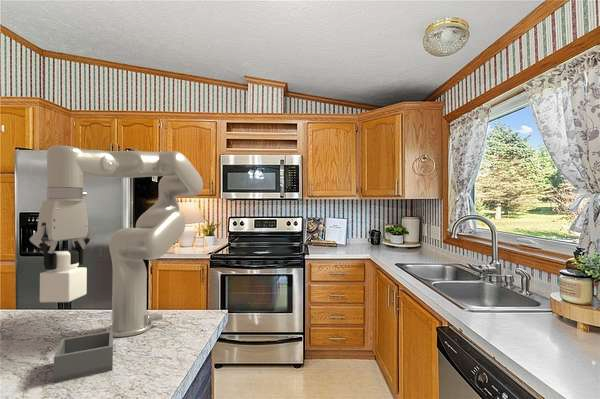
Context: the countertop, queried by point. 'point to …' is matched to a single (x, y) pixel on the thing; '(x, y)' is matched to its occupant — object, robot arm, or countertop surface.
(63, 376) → the bin
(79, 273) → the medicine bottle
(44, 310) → the countertop surface
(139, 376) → the countertop surface
